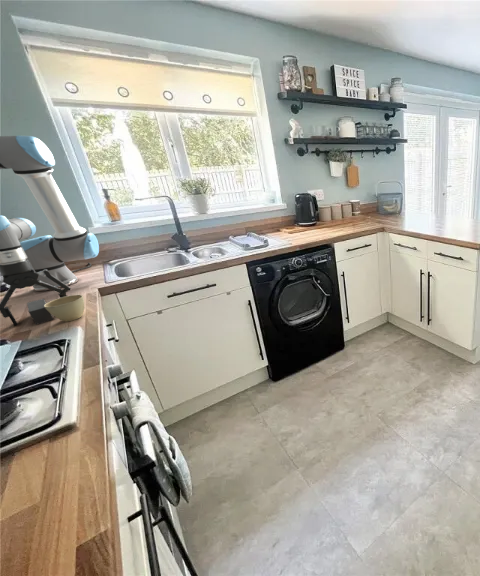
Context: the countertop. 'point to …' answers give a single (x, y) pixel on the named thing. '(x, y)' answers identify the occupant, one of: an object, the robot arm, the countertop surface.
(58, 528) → the countertop surface
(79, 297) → the olive yellow bowl
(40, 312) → the bar
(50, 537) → the countertop surface
